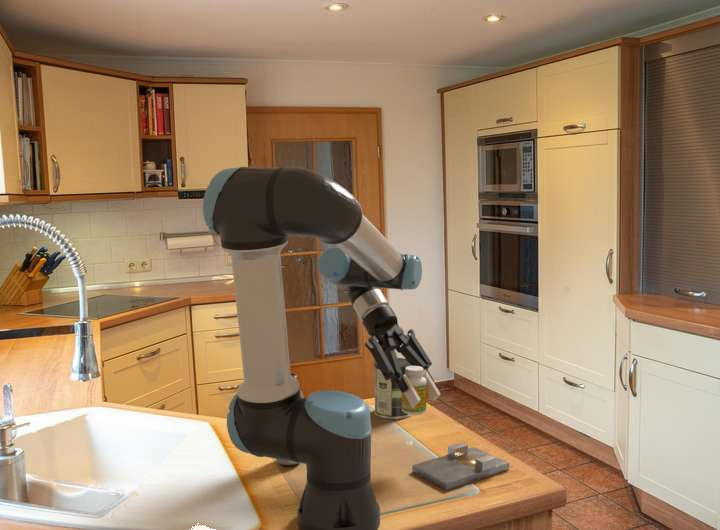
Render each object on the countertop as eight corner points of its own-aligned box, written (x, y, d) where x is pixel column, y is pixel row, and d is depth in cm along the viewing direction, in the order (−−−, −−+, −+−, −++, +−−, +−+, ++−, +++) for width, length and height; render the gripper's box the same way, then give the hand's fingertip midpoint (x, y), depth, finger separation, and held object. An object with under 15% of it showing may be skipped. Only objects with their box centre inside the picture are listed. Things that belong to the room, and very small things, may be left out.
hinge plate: (446, 490, 138) (447, 474, 138) (412, 471, 147) (412, 456, 146) (509, 469, 148) (509, 453, 148) (473, 453, 157) (473, 438, 157)
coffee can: (414, 408, 189) (414, 358, 187) (409, 420, 178) (410, 368, 177) (377, 405, 191) (377, 356, 189) (370, 418, 181) (370, 366, 179)
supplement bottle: (419, 416, 147) (420, 372, 145) (397, 412, 149) (397, 369, 148) (430, 409, 151) (430, 366, 150) (408, 405, 154) (408, 363, 153)
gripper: (397, 318, 166) (446, 400, 155) (337, 328, 154) (386, 418, 143) (412, 299, 161) (464, 383, 151) (352, 309, 149) (404, 400, 139)
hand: (426, 400), depth 147 cm, fingers closed on supplement bottle, 5 cm apart
